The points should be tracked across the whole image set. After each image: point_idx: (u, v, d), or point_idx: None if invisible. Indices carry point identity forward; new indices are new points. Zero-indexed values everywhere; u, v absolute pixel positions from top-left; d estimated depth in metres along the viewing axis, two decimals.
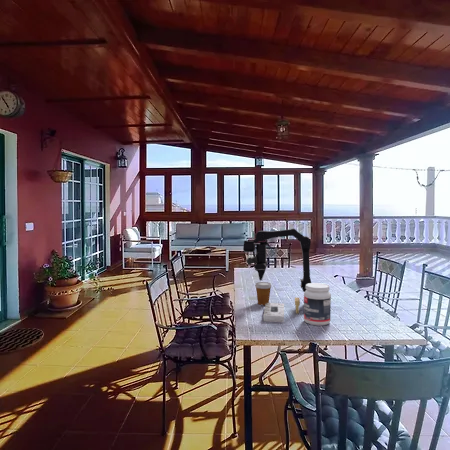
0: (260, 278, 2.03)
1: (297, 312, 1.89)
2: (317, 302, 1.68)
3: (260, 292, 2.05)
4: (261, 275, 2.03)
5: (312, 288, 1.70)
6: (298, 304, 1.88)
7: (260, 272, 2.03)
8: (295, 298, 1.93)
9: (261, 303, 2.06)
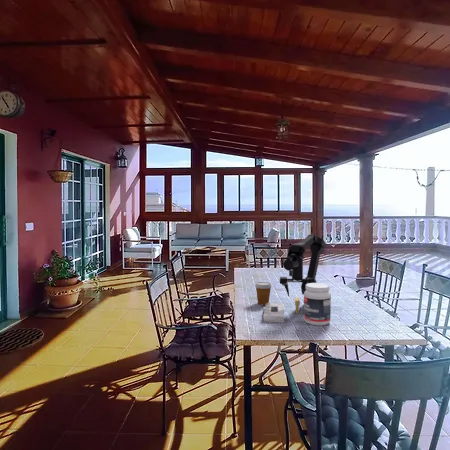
0: (287, 293, 1.93)
1: (297, 312, 1.89)
2: (317, 302, 1.68)
3: (260, 292, 2.05)
4: (286, 290, 1.92)
5: (312, 288, 1.70)
6: (298, 304, 1.88)
7: None
8: (295, 298, 1.93)
9: (261, 303, 2.06)
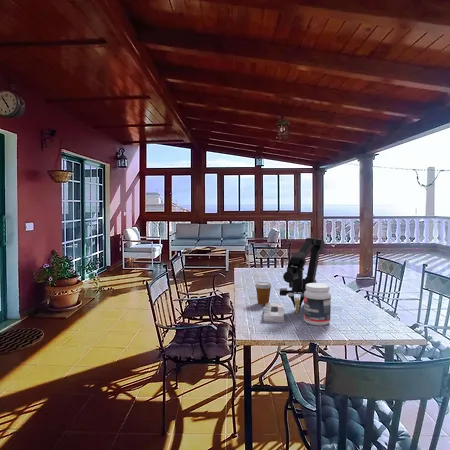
0: None
1: (297, 312, 1.89)
2: (317, 302, 1.68)
3: (260, 292, 2.05)
4: None
5: (312, 288, 1.70)
6: (298, 304, 1.88)
7: None
8: (295, 298, 1.93)
9: (261, 303, 2.06)
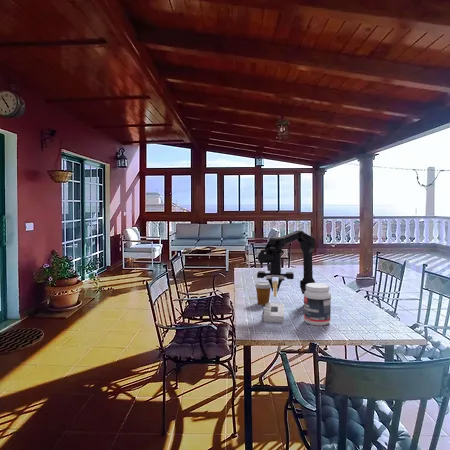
0: (271, 288, 1.87)
1: (275, 295, 1.84)
2: (317, 302, 1.68)
3: (260, 292, 2.05)
4: (270, 285, 1.86)
5: (312, 288, 1.70)
6: (276, 287, 1.83)
7: None
8: (273, 281, 1.88)
9: (261, 303, 2.06)
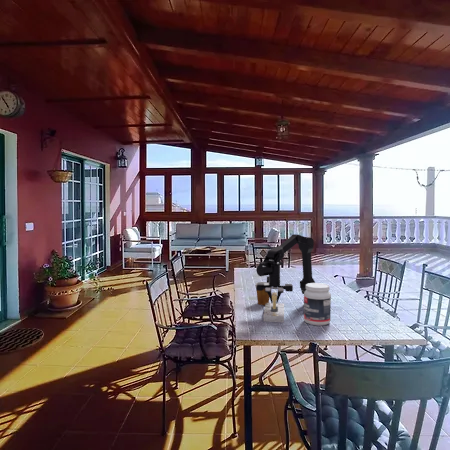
0: (271, 300, 1.87)
1: (274, 307, 1.84)
2: (317, 302, 1.68)
3: (260, 292, 2.05)
4: None
5: (312, 288, 1.70)
6: (275, 299, 1.83)
7: None
8: (272, 293, 1.88)
9: (261, 303, 2.06)
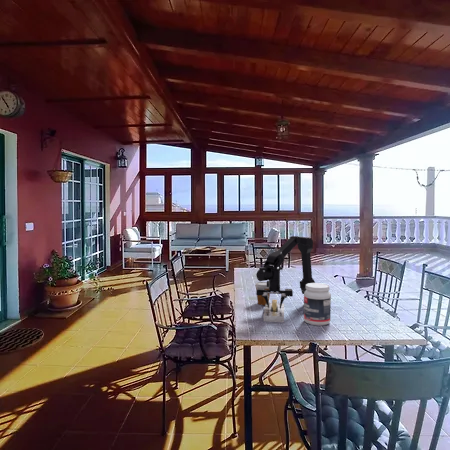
0: (267, 305, 1.88)
1: None
2: (317, 302, 1.68)
3: None
4: None
5: (312, 288, 1.70)
6: (275, 306, 1.83)
7: None
8: (272, 300, 1.88)
9: (261, 303, 2.06)
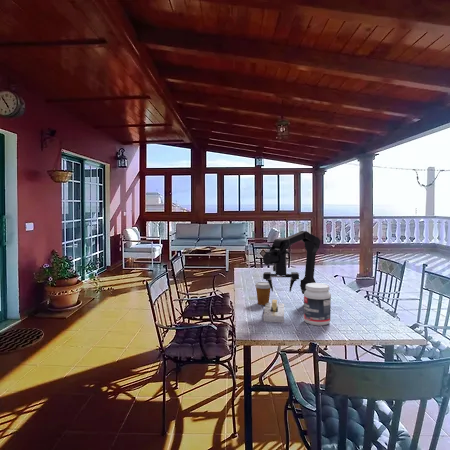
0: None
1: None
2: (317, 302, 1.68)
3: (260, 292, 2.05)
4: (270, 285, 1.91)
5: (312, 288, 1.70)
6: (275, 306, 1.83)
7: None
8: (272, 300, 1.88)
9: (261, 303, 2.06)
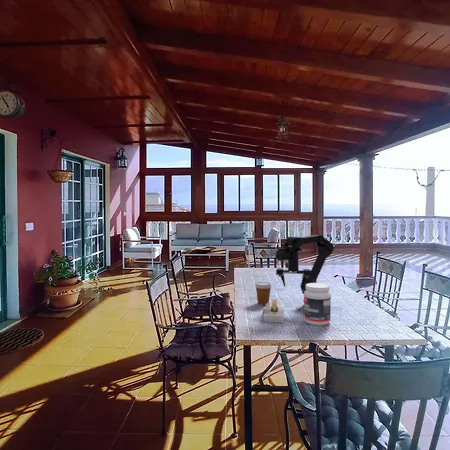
0: None
1: None
2: (317, 302, 1.68)
3: (260, 292, 2.05)
4: None
5: (312, 288, 1.70)
6: (275, 306, 1.83)
7: None
8: (272, 300, 1.88)
9: (261, 303, 2.06)
